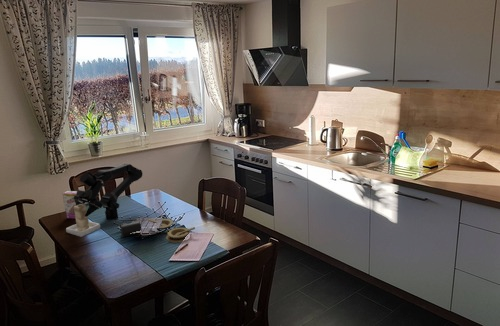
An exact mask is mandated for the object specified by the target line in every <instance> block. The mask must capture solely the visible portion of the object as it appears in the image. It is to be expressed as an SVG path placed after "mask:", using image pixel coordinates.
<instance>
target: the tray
mask: <svg viewBox="0 0 500 326" xmlns="http://www.w3.org/2000/svg"><path fill="white" fill-rule="evenodd" d="M88 222H89V228H88V229H86V230H84V231H79V230H77V224H72V225H70V226H68V227H66V228H65V231H66V233H67V234H71V235H74V236H77V237H79V238H82V237H84V236H86V235H90V233H93V232H94V231H95V232H96V231H97V230H99V229H101V223H99V222H98V223H97V222H95V221H90V220H88Z"/></svg>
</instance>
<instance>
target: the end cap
mask: <svg viewBox="0 0 500 326" xmlns="http://www.w3.org/2000/svg"><path fill="white" fill-rule="evenodd" d="M119 228H120V233H121V236H122V238H126V237H129V235H130V233H132V232H136V231H140V230H141V231H142V225H141V222H140V221H138V220H131V221H130V223H126V222H122V223H120V224H119ZM130 236H131V235H130Z"/></svg>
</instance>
